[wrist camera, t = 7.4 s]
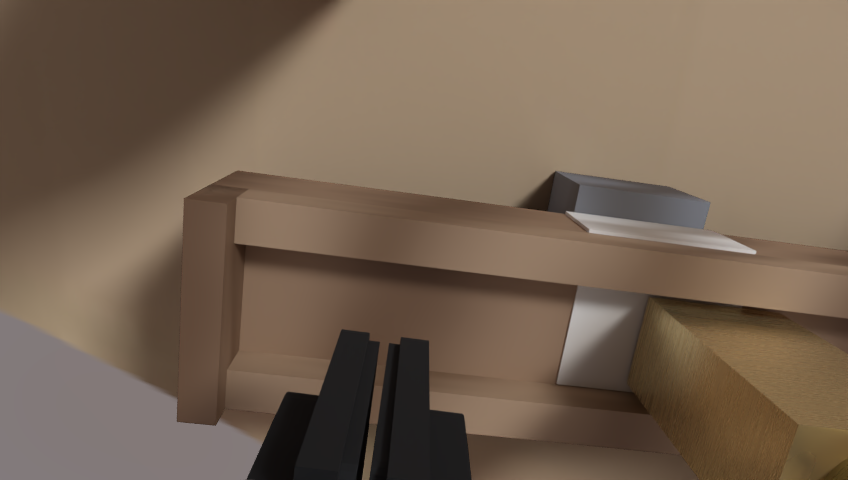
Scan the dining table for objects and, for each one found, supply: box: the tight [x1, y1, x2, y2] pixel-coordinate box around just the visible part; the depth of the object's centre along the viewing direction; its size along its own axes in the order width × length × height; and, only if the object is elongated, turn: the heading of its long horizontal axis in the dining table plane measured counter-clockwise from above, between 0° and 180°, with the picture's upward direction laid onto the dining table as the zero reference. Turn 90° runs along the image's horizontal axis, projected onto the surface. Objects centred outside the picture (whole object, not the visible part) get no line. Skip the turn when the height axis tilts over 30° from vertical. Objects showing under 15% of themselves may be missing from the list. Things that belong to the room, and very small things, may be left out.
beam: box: [177, 171, 848, 455], centre depth 19 cm, size 26×8×8 cm, turn 82°
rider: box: [627, 297, 848, 480], centre depth 13 cm, size 4×3×8 cm
